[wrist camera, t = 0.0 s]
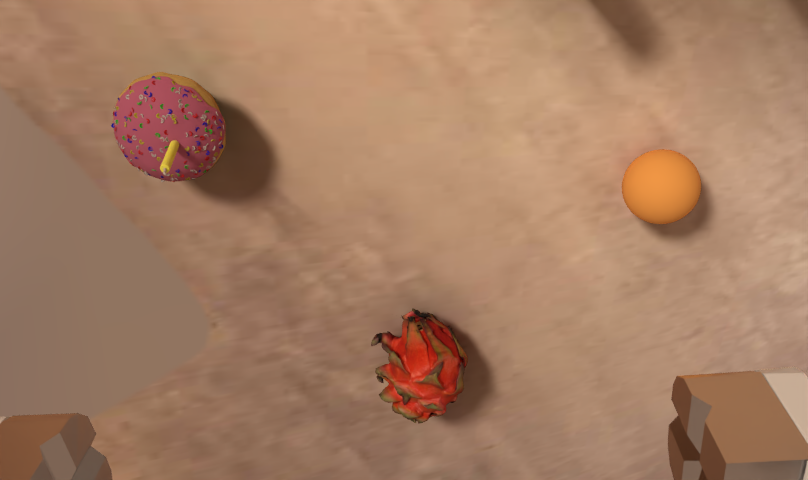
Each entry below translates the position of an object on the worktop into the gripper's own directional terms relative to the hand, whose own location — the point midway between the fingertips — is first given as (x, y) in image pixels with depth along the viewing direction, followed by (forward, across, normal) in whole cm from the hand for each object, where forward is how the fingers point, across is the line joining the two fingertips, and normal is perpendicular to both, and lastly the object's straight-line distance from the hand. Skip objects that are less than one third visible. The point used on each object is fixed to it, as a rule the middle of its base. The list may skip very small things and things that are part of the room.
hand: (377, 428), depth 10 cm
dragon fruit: (+48, +3, +34) cm, 59 cm away
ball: (+45, -18, +18) cm, 52 cm away
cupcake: (+48, +20, +9) cm, 53 cm away
